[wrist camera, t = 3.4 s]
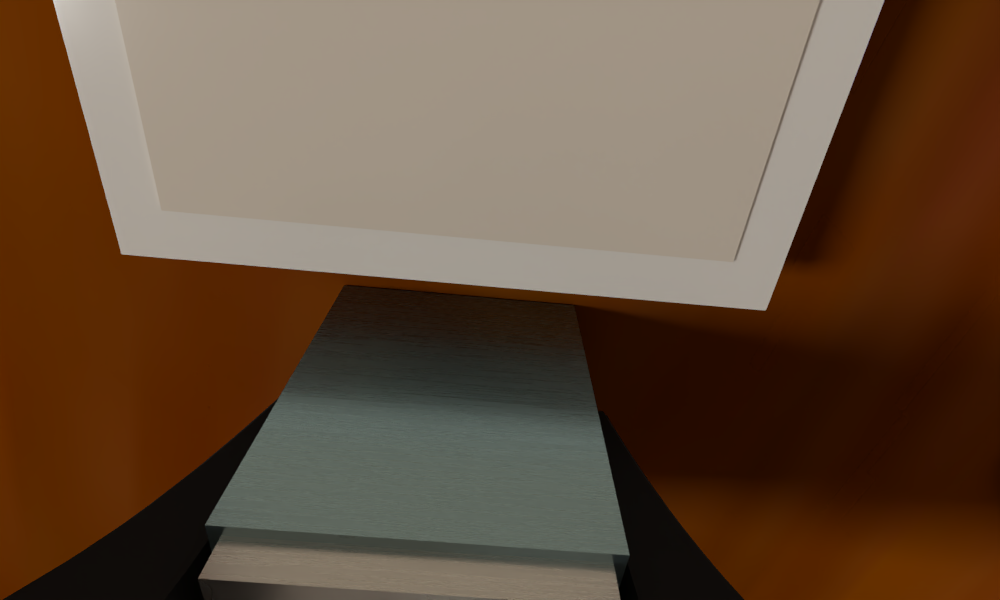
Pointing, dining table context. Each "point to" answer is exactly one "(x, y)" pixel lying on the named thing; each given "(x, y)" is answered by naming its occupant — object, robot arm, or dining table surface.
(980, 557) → the dining table surface
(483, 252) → the tray
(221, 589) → the tea tin
